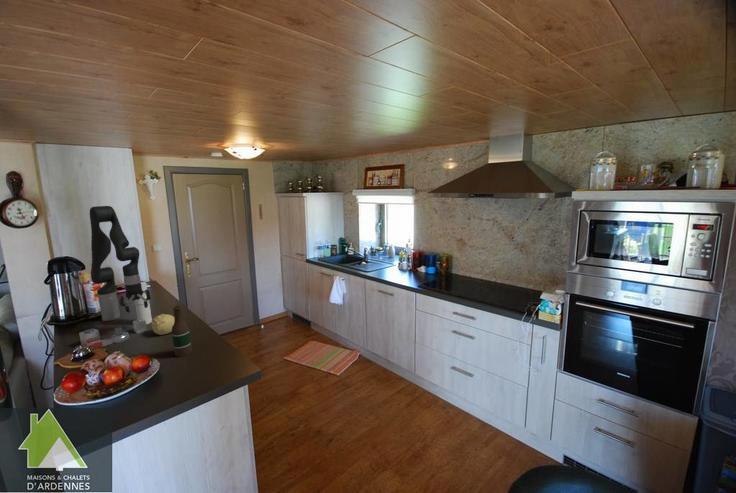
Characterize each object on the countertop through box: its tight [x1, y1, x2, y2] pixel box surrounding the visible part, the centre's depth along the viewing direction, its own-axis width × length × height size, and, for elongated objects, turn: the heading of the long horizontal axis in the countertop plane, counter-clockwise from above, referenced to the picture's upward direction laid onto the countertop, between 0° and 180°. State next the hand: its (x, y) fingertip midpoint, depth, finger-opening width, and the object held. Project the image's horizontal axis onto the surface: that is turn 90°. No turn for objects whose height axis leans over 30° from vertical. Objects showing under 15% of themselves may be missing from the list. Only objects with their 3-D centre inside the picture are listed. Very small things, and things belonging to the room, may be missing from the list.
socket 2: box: [132, 319, 148, 334], centre depth 191 cm, size 5×5×7 cm
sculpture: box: [151, 313, 175, 336], centre depth 188 cm, size 12×12×11 cm
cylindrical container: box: [134, 281, 153, 325], centre depth 202 cm, size 7×7×25 cm
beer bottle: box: [171, 305, 193, 358], centre depth 161 cm, size 8×8×24 cm
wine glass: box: [75, 325, 130, 350], centre depth 175 cm, size 8×22×7 cm, turn 140°
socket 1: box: [78, 328, 101, 346], centre depth 177 cm, size 6×6×8 cm
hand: (137, 310), depth 190 cm, fingers open, 8 cm apart
